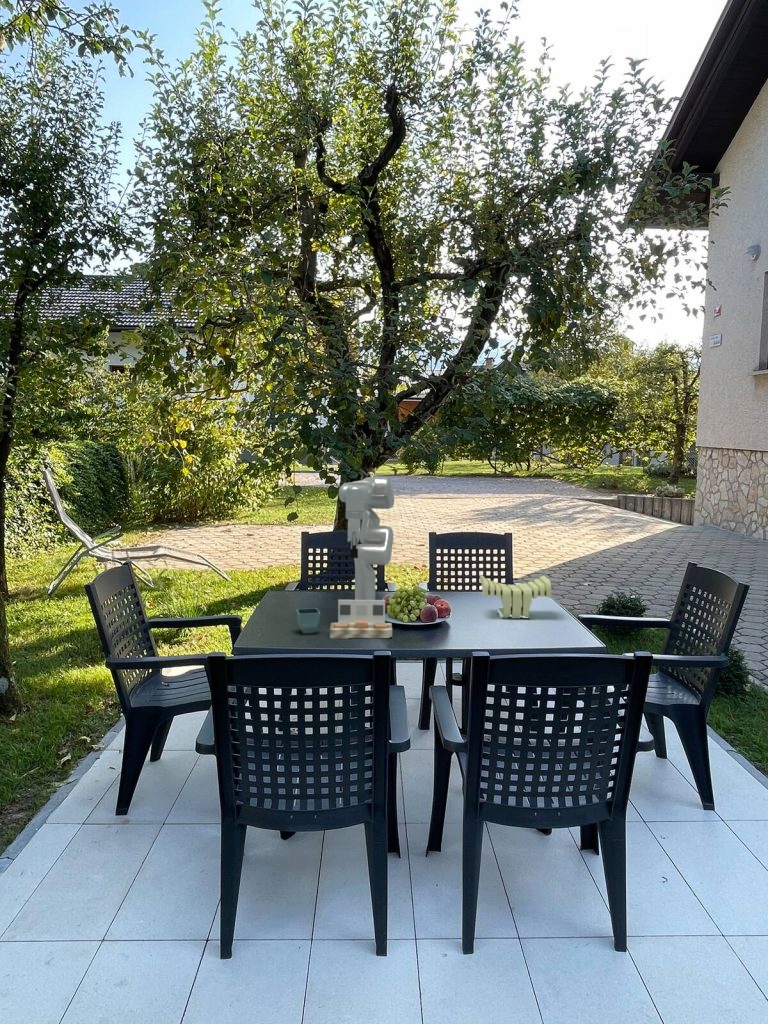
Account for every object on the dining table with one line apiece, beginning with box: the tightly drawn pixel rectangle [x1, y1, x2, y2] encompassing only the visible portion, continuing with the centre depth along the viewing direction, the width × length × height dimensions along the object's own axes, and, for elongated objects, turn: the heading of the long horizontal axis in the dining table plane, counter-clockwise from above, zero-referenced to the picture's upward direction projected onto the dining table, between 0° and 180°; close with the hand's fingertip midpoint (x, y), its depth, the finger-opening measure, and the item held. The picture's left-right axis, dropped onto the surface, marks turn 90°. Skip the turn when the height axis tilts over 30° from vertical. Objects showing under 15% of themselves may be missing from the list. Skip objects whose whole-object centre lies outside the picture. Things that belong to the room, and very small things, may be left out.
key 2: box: [375, 622, 388, 628], centre depth 295 cm, size 5×5×4 cm
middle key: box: [355, 620, 367, 628], centre depth 295 cm, size 5×5×4 cm
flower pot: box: [295, 607, 321, 635], centre depth 298 cm, size 9×9×9 cm
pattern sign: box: [337, 599, 386, 623], centre depth 310 cm, size 20×5×11 cm, turn 91°
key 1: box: [335, 622, 348, 628], centre depth 295 cm, size 5×5×4 cm
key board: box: [329, 622, 393, 639], centre depth 295 cm, size 25×12×4 cm, turn 91°
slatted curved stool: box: [479, 574, 552, 618], centre depth 332 cm, size 30×16×18 cm, turn 90°
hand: (354, 557), depth 310 cm, fingers closed
